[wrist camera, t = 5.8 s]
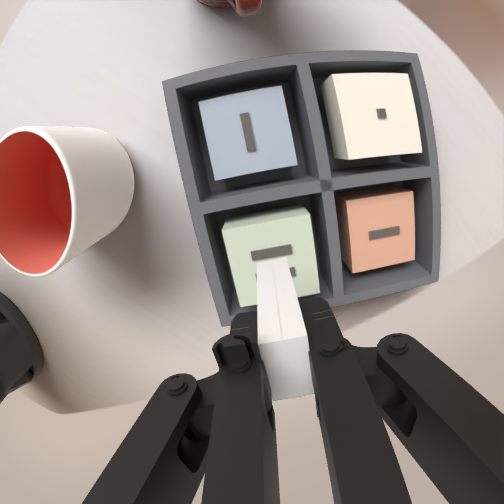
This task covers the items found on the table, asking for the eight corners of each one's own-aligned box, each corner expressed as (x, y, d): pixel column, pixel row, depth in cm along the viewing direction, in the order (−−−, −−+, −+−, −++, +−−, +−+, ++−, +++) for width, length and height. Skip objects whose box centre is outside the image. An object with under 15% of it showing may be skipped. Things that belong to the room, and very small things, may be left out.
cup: (161, 171, 23) (104, 186, 13) (104, 255, 25) (45, 305, 16) (85, 108, 21) (12, 99, 11) (40, 194, 23) (-30, 219, 14)
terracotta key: (340, 257, 24) (353, 274, 21) (333, 193, 23) (346, 201, 19) (397, 246, 24) (415, 260, 21) (393, 185, 22) (414, 191, 19)
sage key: (242, 285, 23) (240, 308, 20) (226, 218, 21) (221, 231, 18) (311, 273, 23) (320, 293, 20) (301, 204, 21) (310, 214, 18)
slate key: (220, 176, 22) (214, 180, 19) (206, 108, 20) (197, 101, 17) (291, 162, 22) (297, 165, 18) (277, 94, 20) (281, 85, 17)
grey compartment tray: (227, 294, 26) (221, 326, 22) (181, 95, 21) (161, 81, 16) (411, 258, 25) (438, 281, 20) (388, 68, 19) (417, 53, 14)
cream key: (334, 158, 20) (349, 159, 16) (320, 85, 18) (332, 73, 15) (400, 151, 19) (423, 152, 16) (387, 82, 18) (408, 73, 14)
